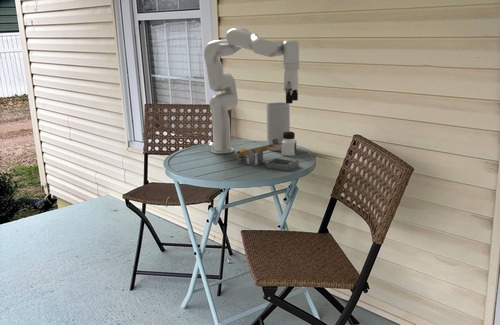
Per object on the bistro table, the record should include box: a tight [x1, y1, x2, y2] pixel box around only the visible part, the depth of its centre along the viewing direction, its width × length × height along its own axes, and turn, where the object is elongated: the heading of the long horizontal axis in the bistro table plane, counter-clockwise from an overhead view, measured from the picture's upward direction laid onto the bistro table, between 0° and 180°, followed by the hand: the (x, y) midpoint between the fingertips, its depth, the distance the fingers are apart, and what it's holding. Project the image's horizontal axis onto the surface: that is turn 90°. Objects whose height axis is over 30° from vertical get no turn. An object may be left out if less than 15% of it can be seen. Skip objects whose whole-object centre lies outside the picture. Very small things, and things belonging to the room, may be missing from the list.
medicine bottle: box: [281, 130, 297, 157], centre depth 271 cm, size 7×7×12 cm
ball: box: [238, 146, 247, 153], centre depth 259 cm, size 4×4×4 cm
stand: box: [235, 151, 266, 167], centre depth 257 cm, size 12×9×7 cm
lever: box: [236, 138, 282, 159], centre depth 259 cm, size 20×16×4 cm
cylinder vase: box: [266, 102, 291, 152], centre depth 282 cm, size 12×12×25 cm
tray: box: [266, 157, 300, 172], centre depth 248 cm, size 13×10×4 cm
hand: (292, 101), depth 251 cm, fingers open, 9 cm apart
